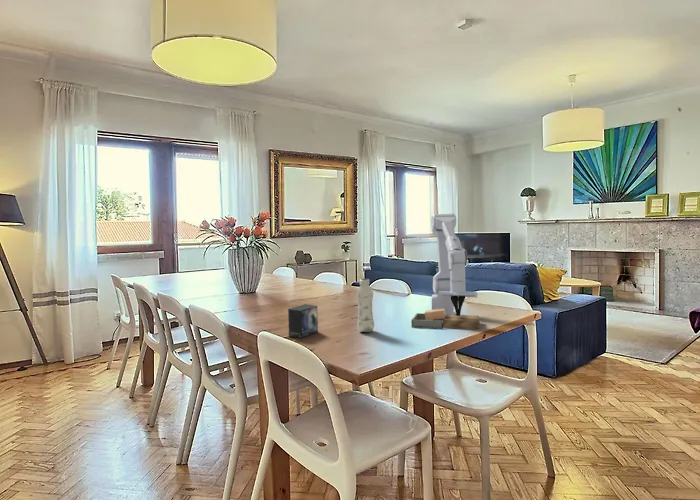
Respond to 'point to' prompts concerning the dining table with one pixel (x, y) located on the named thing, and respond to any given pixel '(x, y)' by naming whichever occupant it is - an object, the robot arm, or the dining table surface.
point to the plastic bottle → (365, 307)
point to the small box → (303, 320)
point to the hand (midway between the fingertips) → (458, 315)
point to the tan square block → (429, 315)
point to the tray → (425, 322)
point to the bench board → (461, 321)
